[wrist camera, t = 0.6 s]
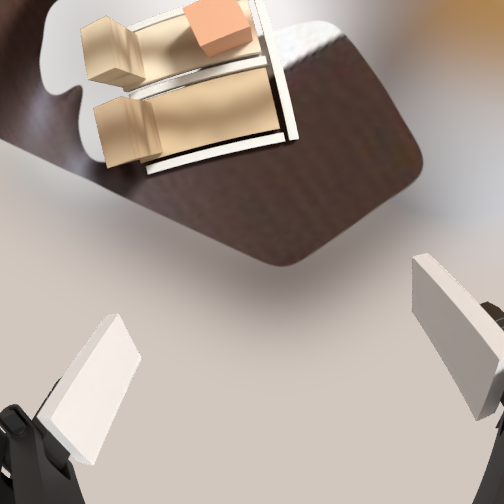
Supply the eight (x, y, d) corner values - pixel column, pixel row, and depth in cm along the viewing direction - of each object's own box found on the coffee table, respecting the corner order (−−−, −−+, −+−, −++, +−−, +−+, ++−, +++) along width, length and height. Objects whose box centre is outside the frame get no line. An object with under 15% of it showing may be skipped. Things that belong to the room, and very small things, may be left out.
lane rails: (120, 33, 29) (116, 31, 28) (260, -9, 27) (260, -13, 26) (150, 173, 36) (147, 174, 35) (298, 138, 33) (298, 138, 33)
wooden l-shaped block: (131, 107, 32) (92, 103, 24) (265, 69, 30) (264, 48, 22) (144, 162, 35) (108, 173, 26) (279, 128, 33) (283, 127, 24)
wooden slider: (118, 43, 29) (79, 25, 21) (247, 2, 27) (241, -33, 19) (128, 92, 32) (88, 84, 23) (261, 53, 30) (259, 28, 21)
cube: (193, 23, 28) (181, 8, 23) (235, 5, 27) (230, -12, 22) (209, 57, 29) (200, 46, 24) (252, 40, 28) (250, 26, 24)
